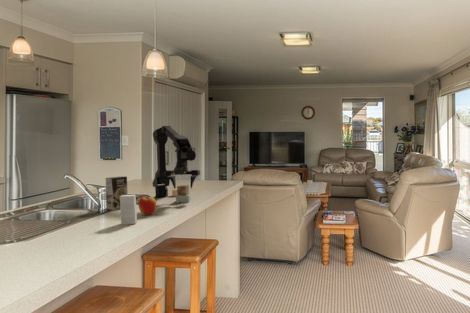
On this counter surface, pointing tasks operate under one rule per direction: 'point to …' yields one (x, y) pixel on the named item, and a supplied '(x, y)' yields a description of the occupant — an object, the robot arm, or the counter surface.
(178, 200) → the base block
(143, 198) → the apple
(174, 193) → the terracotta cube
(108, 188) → the coffee box
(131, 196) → the skincare box
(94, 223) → the counter surface
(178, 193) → the walnut cube
